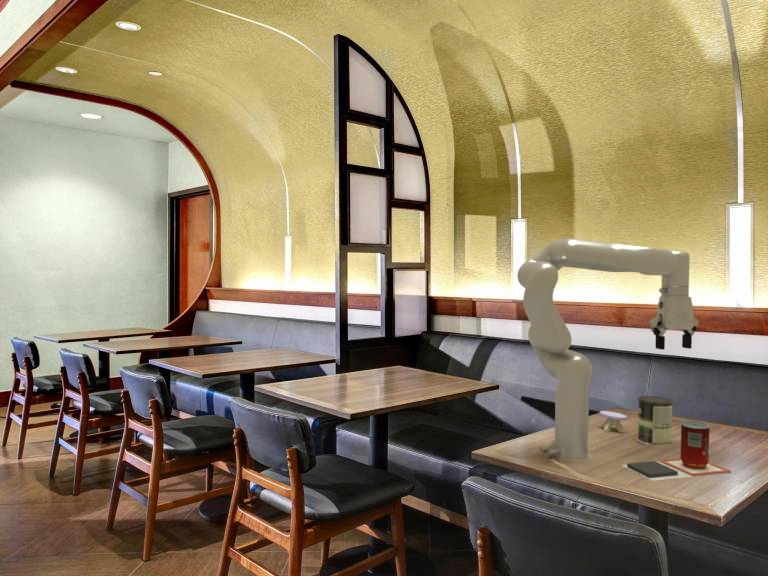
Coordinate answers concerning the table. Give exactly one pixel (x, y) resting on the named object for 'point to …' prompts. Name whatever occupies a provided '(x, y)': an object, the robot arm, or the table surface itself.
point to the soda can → (694, 444)
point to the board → (680, 475)
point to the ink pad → (652, 469)
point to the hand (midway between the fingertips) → (673, 348)
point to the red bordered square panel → (708, 470)
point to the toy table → (612, 420)
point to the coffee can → (654, 420)
